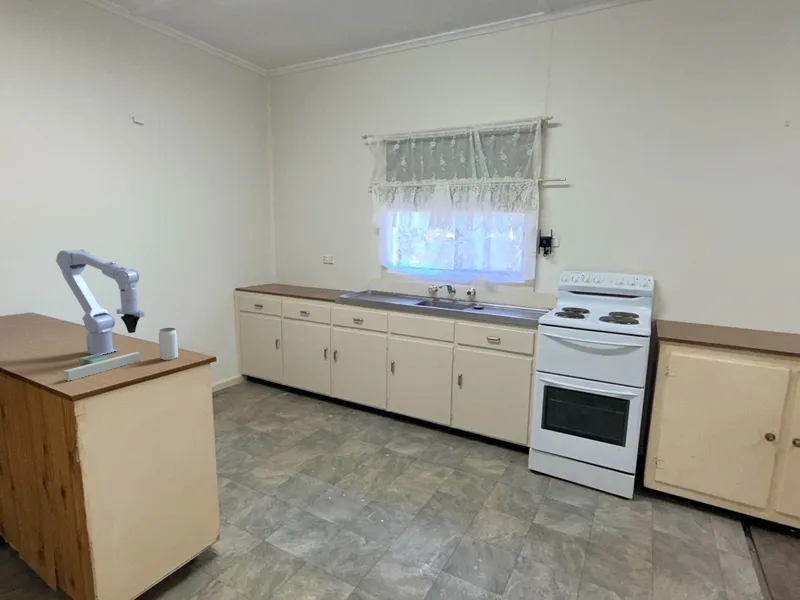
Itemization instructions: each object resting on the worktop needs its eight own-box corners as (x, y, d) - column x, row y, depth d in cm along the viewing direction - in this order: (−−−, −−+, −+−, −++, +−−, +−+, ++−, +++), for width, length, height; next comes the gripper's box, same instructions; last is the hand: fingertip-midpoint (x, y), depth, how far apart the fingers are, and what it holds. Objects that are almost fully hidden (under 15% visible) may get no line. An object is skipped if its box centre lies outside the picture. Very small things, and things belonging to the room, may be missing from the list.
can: (161, 356, 182) (159, 328, 180) (179, 355, 185) (177, 327, 183) (159, 361, 176) (157, 331, 174) (177, 359, 179) (175, 330, 177)
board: (65, 380, 153) (64, 370, 153) (136, 360, 177) (136, 352, 176) (69, 381, 152) (68, 371, 152) (140, 361, 176) (140, 352, 175)
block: (80, 369, 165) (79, 358, 164) (96, 365, 170) (95, 354, 170) (93, 373, 162) (92, 361, 161) (110, 368, 167) (109, 356, 166)
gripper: (107, 299, 180) (110, 332, 182) (131, 302, 174) (134, 336, 176) (124, 297, 186) (127, 329, 189) (148, 300, 180) (150, 332, 183)
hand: (131, 332), depth 183 cm, fingers closed
